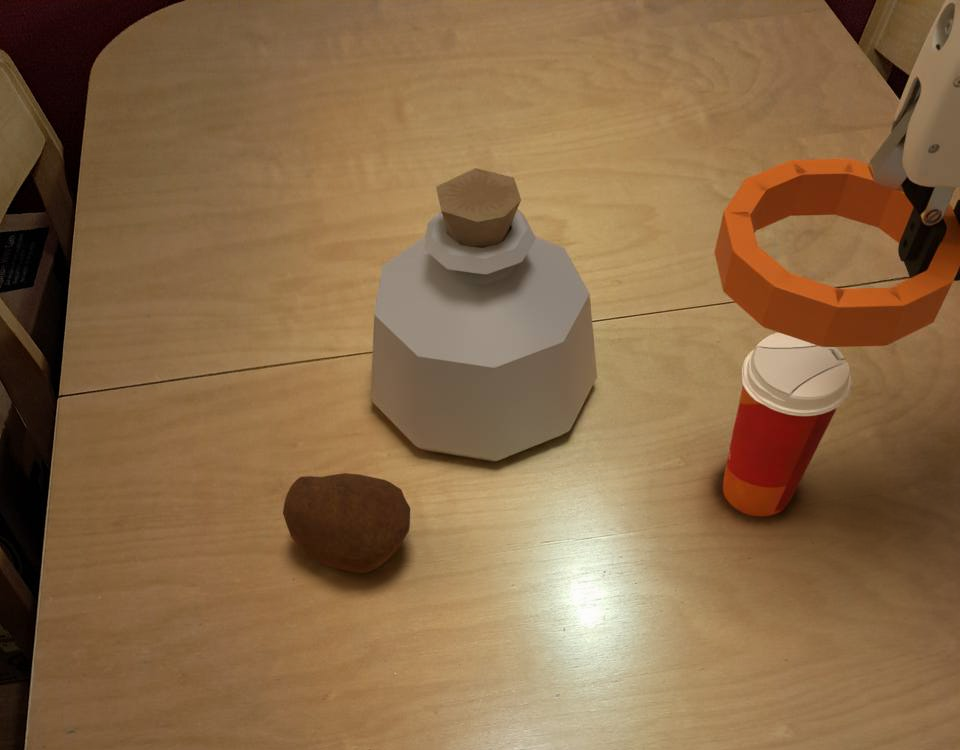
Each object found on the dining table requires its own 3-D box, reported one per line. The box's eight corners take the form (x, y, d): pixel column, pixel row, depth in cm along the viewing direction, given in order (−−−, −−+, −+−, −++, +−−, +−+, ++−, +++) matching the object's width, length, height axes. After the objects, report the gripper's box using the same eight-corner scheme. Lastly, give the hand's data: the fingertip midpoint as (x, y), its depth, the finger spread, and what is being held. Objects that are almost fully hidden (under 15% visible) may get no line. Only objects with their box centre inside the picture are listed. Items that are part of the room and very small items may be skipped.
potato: (299, 513, 80) (281, 447, 73) (418, 517, 80) (411, 451, 73) (286, 587, 76) (265, 525, 69) (410, 591, 76) (402, 529, 69)
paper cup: (776, 447, 83) (823, 314, 71) (820, 514, 79) (877, 386, 67) (692, 470, 82) (725, 339, 70) (732, 539, 78) (775, 414, 66)
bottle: (596, 474, 81) (620, 288, 65) (363, 468, 82) (330, 282, 66) (594, 313, 92) (614, 117, 76) (387, 308, 93) (364, 114, 77)
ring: (913, 198, 66) (930, 156, 63) (973, 344, 58) (995, 303, 56) (702, 203, 66) (711, 161, 63) (736, 349, 58) (747, 309, 56)
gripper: (932, -20, 44) (817, 310, 60) (1278, -28, 44) (1072, 304, 60) (892, -95, 48) (794, 233, 64) (1209, -102, 48) (1033, 227, 64)
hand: (929, 265), depth 62 cm, fingers closed on ring
